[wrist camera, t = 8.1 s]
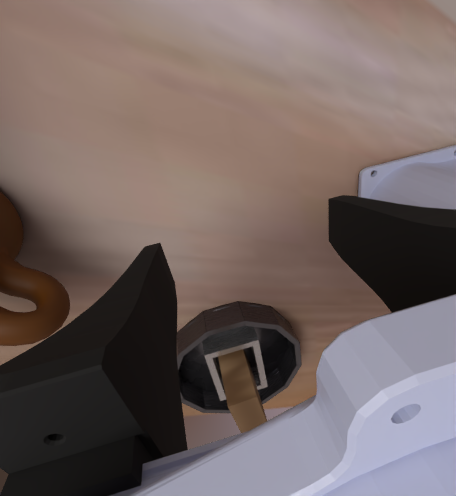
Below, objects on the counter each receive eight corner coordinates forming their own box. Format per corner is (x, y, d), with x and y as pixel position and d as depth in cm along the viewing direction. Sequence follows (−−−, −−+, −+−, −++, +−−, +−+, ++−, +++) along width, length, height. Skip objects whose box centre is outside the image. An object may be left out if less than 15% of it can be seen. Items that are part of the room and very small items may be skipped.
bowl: (285, 287, 27) (296, 305, 24) (295, 371, 33) (304, 391, 31) (153, 324, 26) (152, 346, 24) (188, 403, 32) (190, 426, 30)
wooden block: (238, 335, 28) (256, 396, 22) (249, 363, 30) (268, 425, 25) (215, 343, 28) (227, 407, 22) (228, 370, 30) (242, 434, 25)
